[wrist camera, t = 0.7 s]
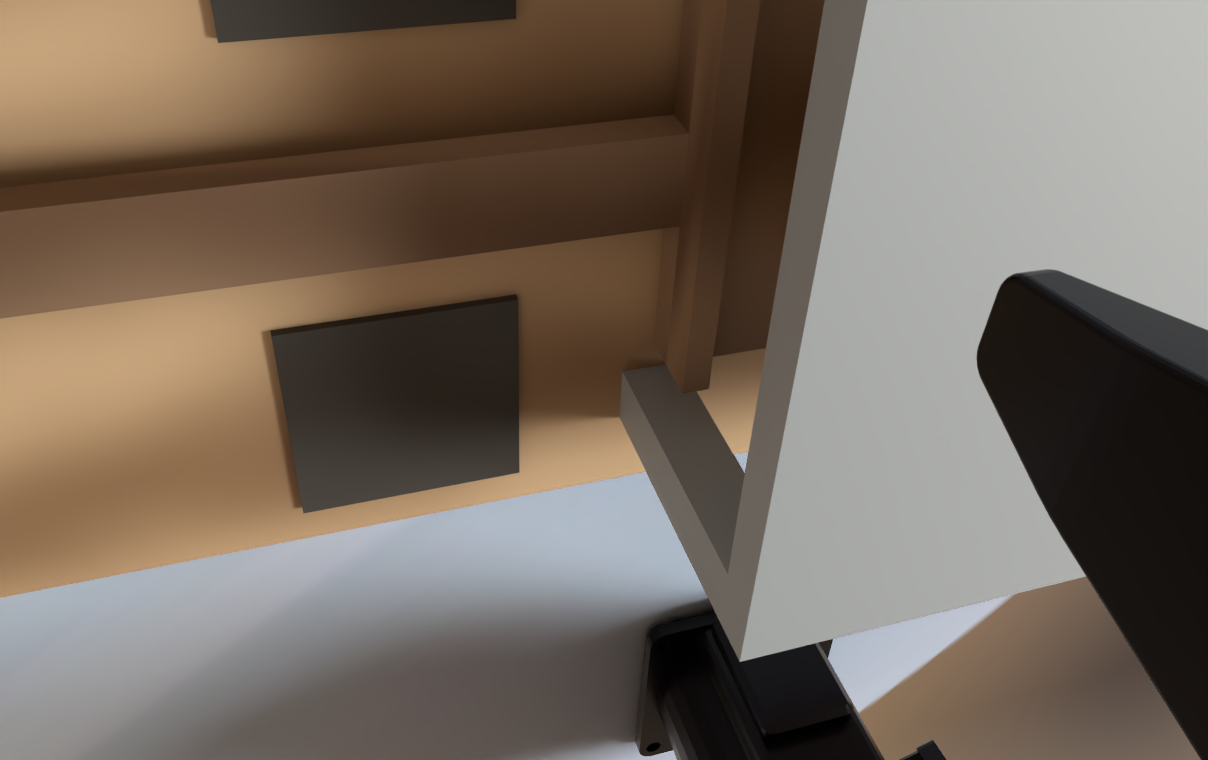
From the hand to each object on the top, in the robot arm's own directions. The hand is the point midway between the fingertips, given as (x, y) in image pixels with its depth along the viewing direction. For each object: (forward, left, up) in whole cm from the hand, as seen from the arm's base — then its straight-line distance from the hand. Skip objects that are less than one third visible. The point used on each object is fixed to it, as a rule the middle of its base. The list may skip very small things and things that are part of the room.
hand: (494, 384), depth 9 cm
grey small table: (-5, -11, -14) cm, 18 cm away
